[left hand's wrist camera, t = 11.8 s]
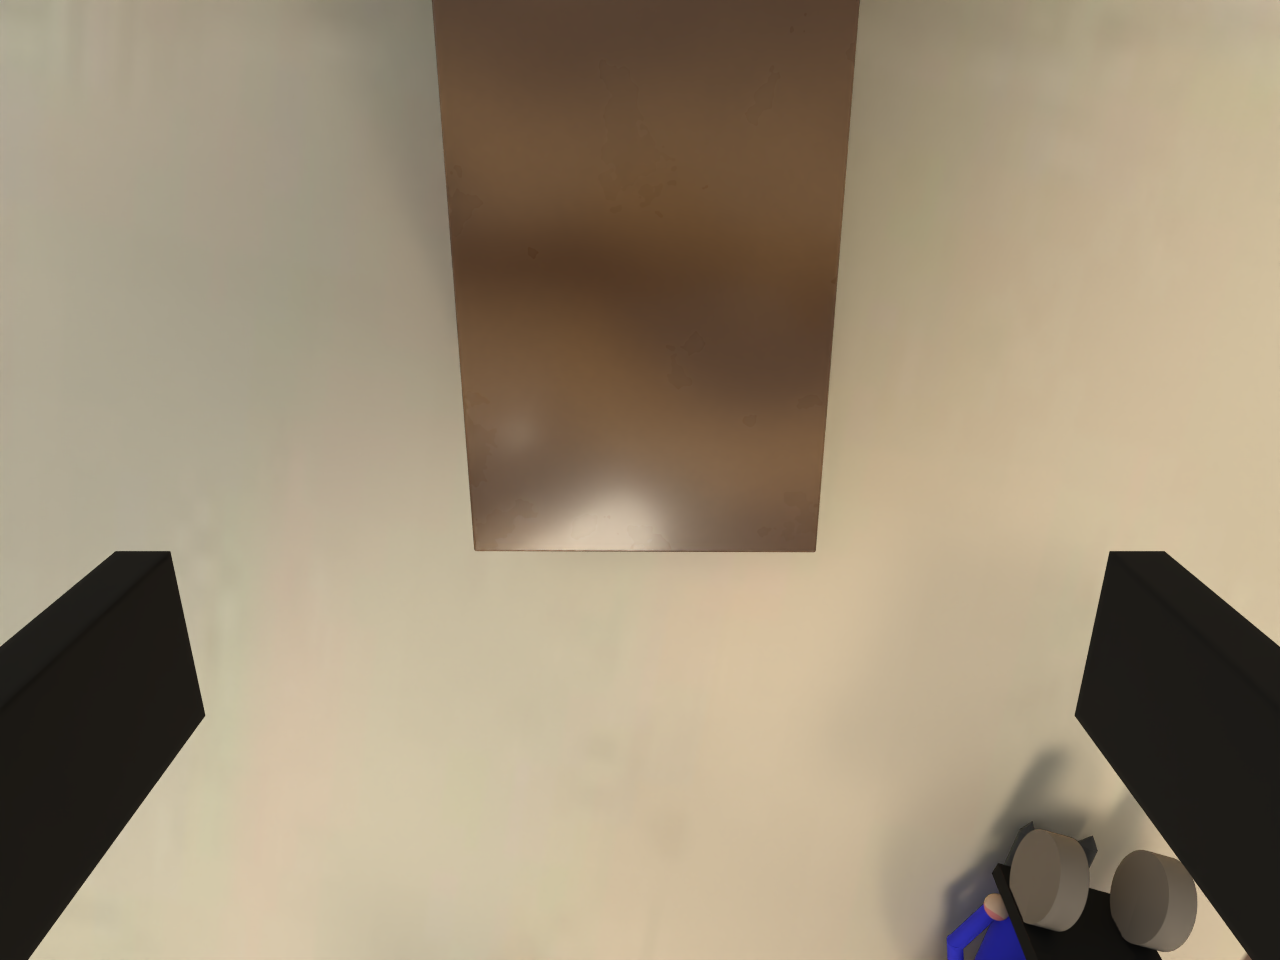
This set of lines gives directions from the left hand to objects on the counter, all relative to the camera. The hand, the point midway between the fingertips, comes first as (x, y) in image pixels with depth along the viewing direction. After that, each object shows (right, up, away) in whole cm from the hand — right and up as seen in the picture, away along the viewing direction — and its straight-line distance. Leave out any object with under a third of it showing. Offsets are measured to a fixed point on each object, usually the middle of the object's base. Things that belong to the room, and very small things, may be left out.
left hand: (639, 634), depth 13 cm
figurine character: (+16, -18, +28) cm, 37 cm away
